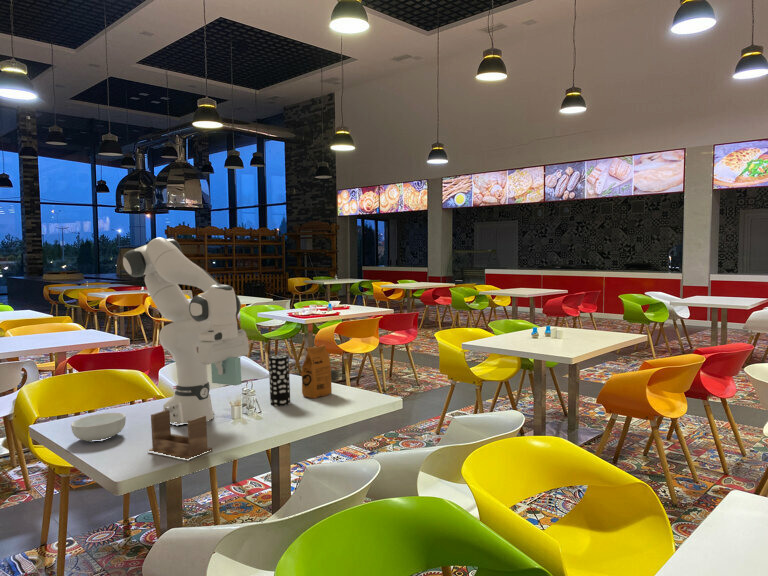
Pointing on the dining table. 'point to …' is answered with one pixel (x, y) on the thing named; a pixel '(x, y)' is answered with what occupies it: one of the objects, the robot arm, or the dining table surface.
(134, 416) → the dining table surface
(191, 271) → the robot arm
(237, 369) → the door panel
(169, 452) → the wooden u-shaped stand
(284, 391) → the spotted tube
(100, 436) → the cereal bowl
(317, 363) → the coffee package
